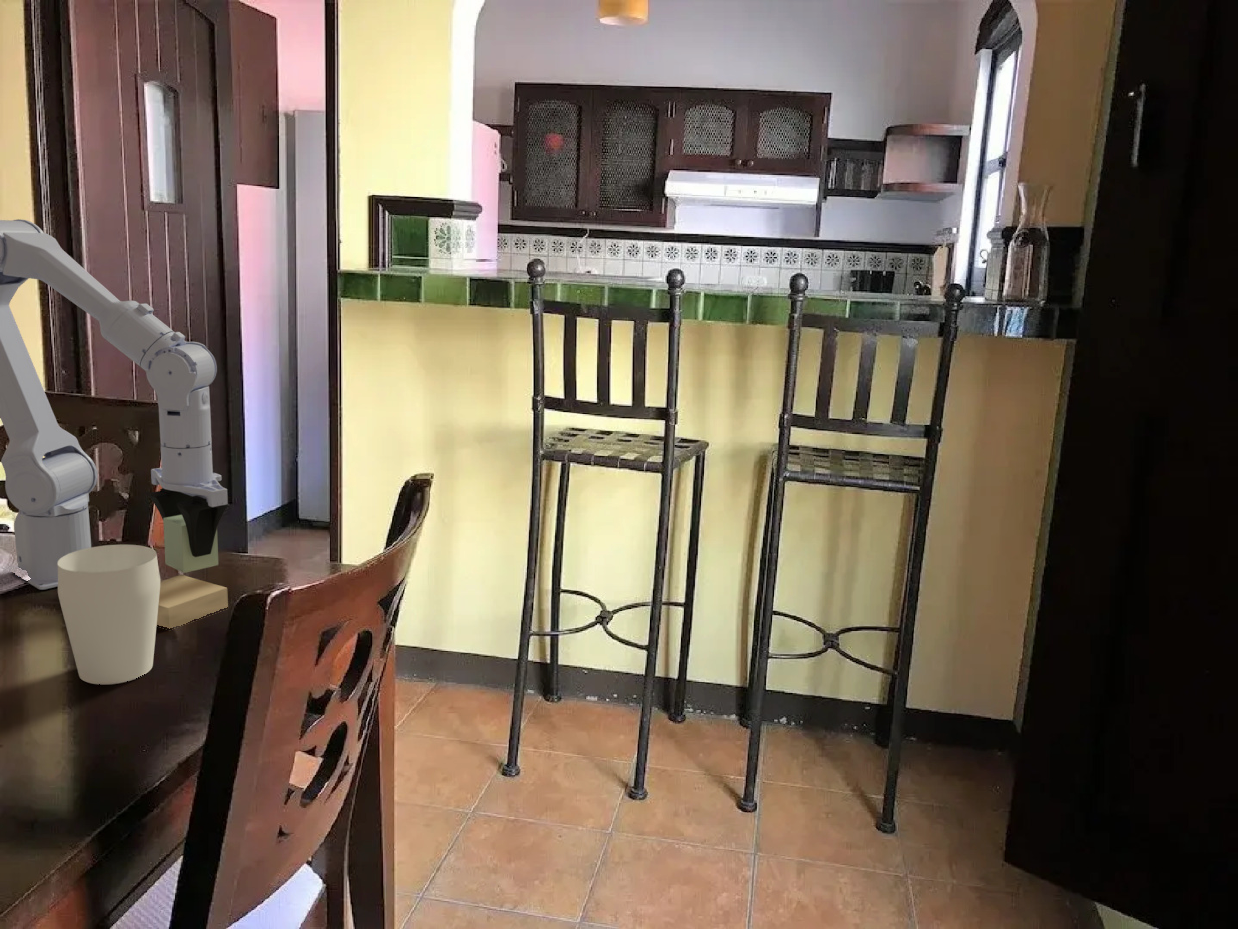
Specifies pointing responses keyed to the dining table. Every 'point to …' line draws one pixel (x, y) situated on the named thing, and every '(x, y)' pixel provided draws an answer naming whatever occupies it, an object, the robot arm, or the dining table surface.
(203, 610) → the beech base
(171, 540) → the green block
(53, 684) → the dining table surface
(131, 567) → the cup
